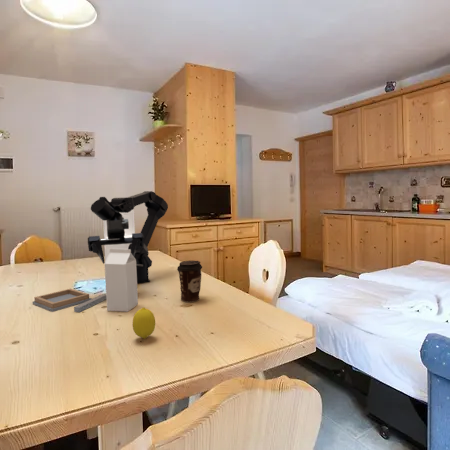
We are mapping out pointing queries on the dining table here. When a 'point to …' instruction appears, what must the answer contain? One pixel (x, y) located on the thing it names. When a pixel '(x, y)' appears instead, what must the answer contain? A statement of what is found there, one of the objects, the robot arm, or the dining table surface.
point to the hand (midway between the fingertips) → (118, 261)
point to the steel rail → (90, 303)
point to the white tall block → (127, 231)
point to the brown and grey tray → (61, 299)
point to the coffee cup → (190, 280)
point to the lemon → (143, 323)
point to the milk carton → (121, 280)
